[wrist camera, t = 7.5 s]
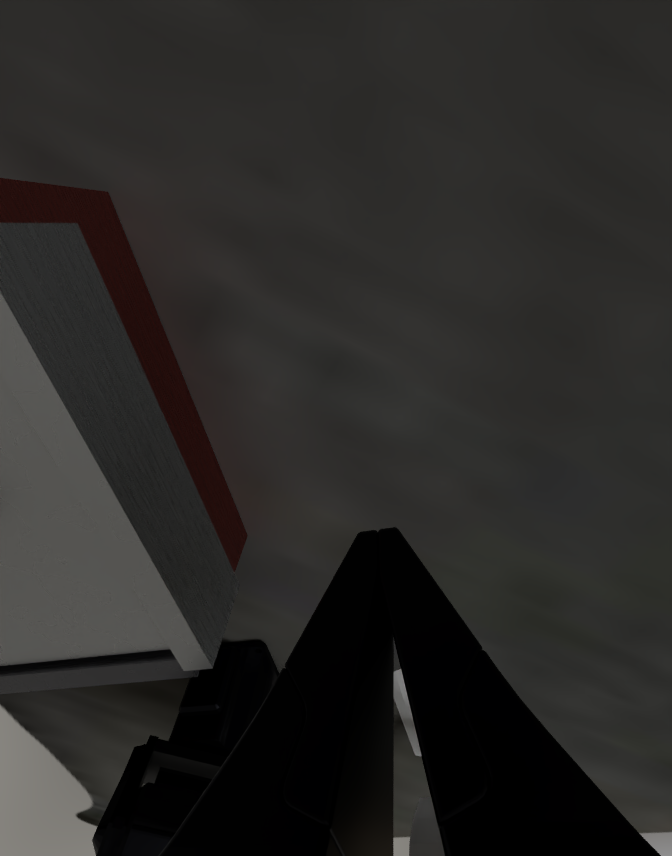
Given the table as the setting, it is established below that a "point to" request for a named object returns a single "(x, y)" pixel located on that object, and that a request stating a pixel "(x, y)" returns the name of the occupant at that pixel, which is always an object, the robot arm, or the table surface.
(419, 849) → the heart sculpture
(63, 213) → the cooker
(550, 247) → the table surface
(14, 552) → the lid
